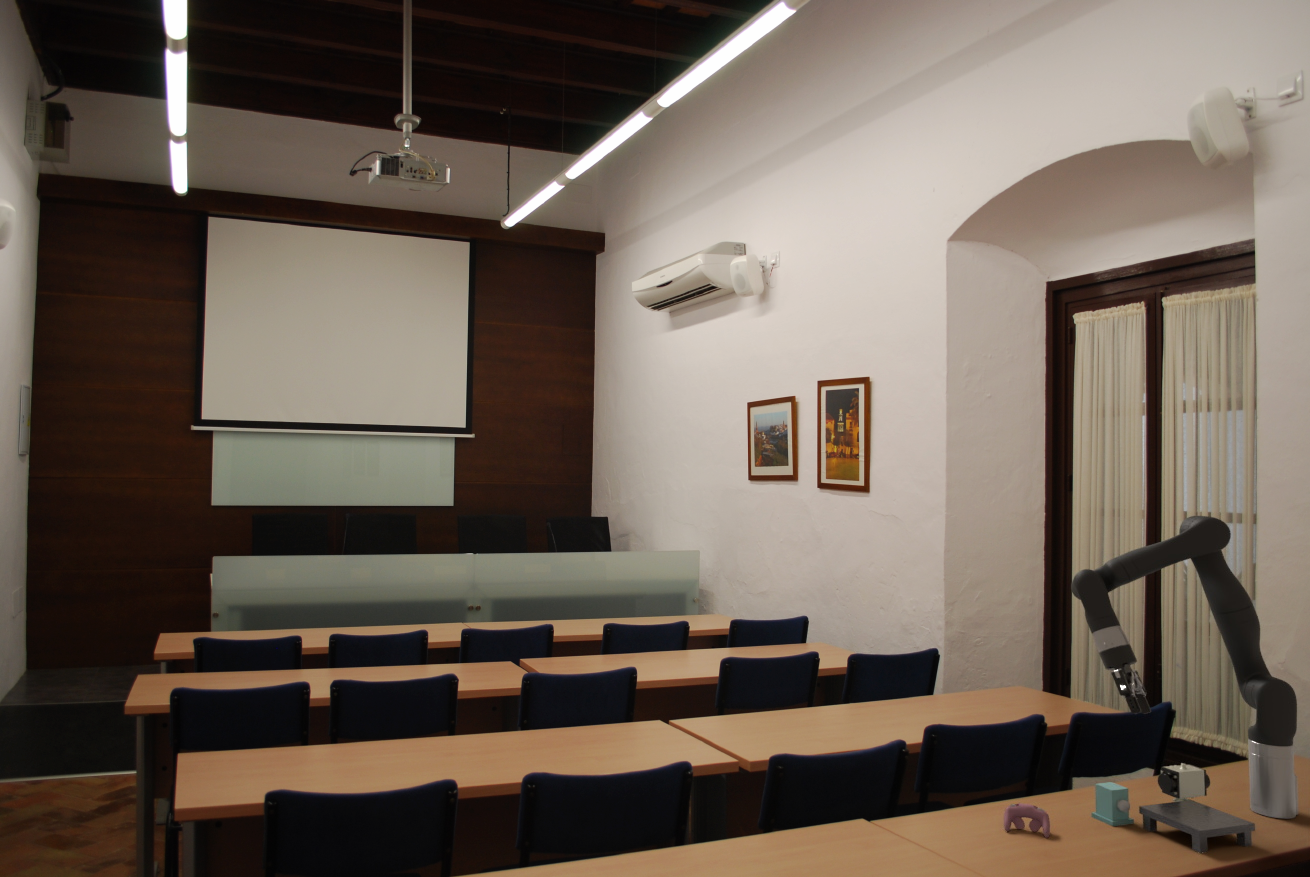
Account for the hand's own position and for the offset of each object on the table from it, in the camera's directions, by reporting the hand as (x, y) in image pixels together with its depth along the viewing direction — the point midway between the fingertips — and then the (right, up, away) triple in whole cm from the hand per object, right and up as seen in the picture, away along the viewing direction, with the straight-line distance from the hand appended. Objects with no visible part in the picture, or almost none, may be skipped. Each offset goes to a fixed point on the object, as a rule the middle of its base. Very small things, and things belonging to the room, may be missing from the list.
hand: (1142, 713), depth 213 cm
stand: (+6, -25, -12) cm, 28 cm away
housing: (-8, -25, -2) cm, 27 cm away
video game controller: (-32, -25, -10) cm, 42 cm away
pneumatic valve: (+12, -26, +3) cm, 29 cm away
